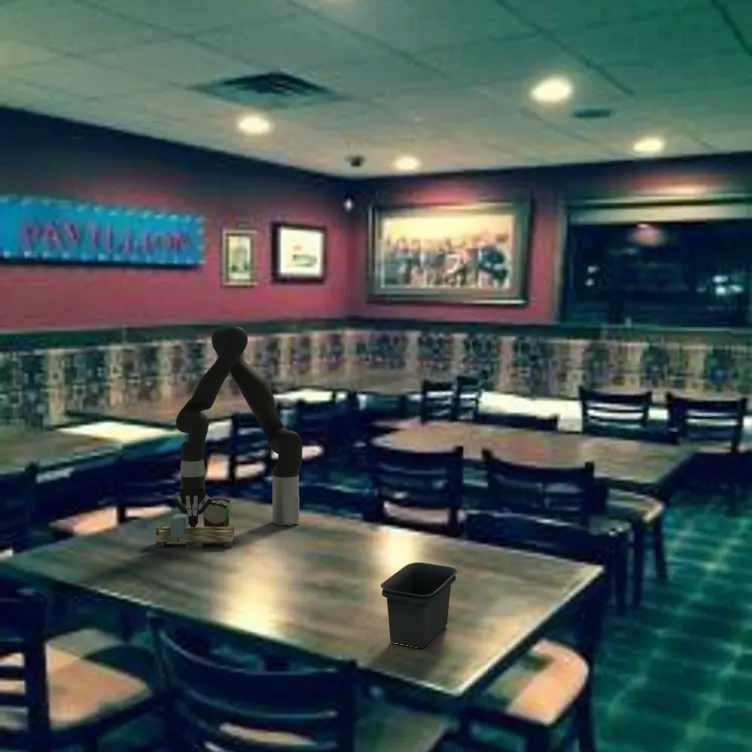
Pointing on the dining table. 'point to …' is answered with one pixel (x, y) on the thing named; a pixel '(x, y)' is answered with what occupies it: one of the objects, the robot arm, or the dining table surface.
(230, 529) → the beam
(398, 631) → the storage bin
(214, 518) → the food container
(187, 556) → the dining table surface
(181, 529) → the rider
